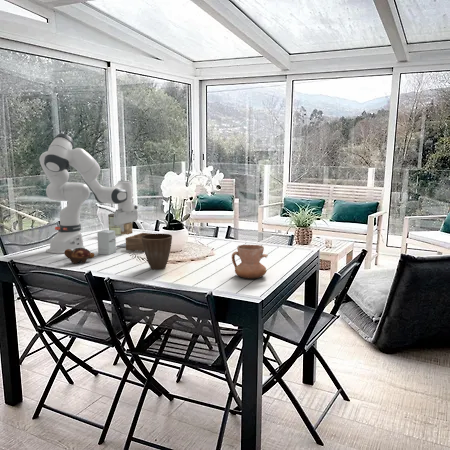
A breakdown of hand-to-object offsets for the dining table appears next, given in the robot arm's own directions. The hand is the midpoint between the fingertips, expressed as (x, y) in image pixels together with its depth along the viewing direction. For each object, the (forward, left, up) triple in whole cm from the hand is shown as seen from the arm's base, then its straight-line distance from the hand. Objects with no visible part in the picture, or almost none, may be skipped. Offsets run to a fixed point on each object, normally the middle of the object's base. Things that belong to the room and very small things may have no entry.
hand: (126, 230), depth 272 cm
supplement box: (-20, 0, -10) cm, 22 cm away
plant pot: (-37, -43, -10) cm, 58 cm away
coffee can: (+28, +28, -10) cm, 41 cm away
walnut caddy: (0, -12, -10) cm, 16 cm away
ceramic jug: (-34, -90, -10) cm, 97 cm away
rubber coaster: (0, 0, -10) cm, 10 cm away
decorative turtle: (-43, 0, -10) cm, 44 cm away
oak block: (0, 0, -2) cm, 2 cm away
